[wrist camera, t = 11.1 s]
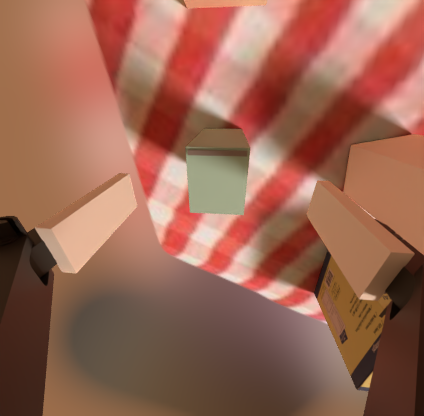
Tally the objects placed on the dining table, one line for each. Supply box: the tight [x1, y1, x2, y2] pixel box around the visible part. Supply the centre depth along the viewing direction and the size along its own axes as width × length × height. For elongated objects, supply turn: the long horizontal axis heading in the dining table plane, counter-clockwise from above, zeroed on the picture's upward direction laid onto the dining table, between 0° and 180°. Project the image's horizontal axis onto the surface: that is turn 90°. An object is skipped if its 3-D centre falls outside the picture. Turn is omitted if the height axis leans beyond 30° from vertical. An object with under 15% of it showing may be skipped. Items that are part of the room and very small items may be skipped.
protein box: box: [314, 251, 392, 391], centre depth 28 cm, size 10×16×16 cm
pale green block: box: [185, 128, 250, 215], centre depth 21 cm, size 6×5×12 cm
